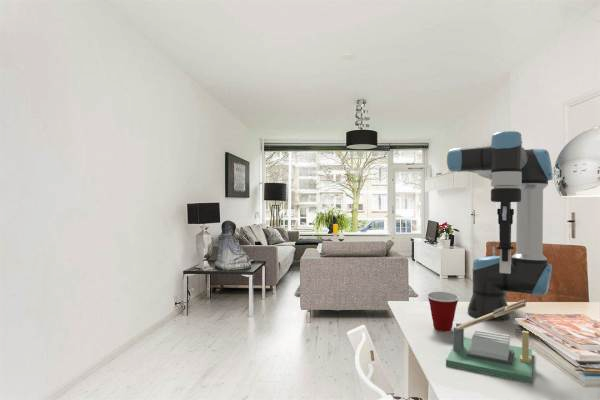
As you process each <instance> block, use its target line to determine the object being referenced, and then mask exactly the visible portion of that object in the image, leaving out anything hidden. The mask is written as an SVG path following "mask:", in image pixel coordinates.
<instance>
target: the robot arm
mask: <svg viewBox="0 0 600 400" xmlns="http://www.w3.org/2000/svg"><path fill="white" fill-rule="evenodd" d="M522 140H523V139H522V133H520V132H519V131H513V130H509V131H508V130H507V131H506V130H505V131H499V132H496V133H493V134H492V136H491V142H490V143H491V144H490V145H486V146H475V147H473V146H472V147H457V148H451V149H449V151H448V152H447V155H446V165H447V168H448V171H449V172H454V173H455V172H458V173H460V172H468V173H474V174H477V175H478V176H480V177H481V178H484V179H488V180H490V186H491V187H492V188H491V189H490V201H491V202H493V203H500V205H499V207H500V208H497V210H496V211H497V212H496V214H497V223H498V225H499V227H498V229H499V230H498V231H499V232H498V233H499V244H498V246H496V249H497V250H499V255H496V256H493V255H490V256H481V257H476V258H474V260H473V261H472V269H471V270H472V294H471V298H470V300H469V303H468V306H467V314H468V315H469V316H471V317H473V318H475V319H477V318H480V317H482V316H485V315H487V314H490V313H493V312H494V310H496V309H499V308H501V307H504V306H505V307H506V306H509V305H508V302H507V298H506V299H505V291H506V292H510V293H517V294H518V293H519V294H525V295H526V294H527V295H531V296H533V295H537V296H545V295H546V294H547V293H548V291H549V289H550V283H551V276H552V269H553V265H552V264H550V263H548V258H547V257H546V256H545V255H544V254H543V253H544V252H543V245H544V243H543V239H544V238H543V236H544V234H543V233H544V231H543V230H544V229H543V227H544V225H543V223H544V219H543V218H544V189H545V188H547V186H549V181H551V180H553V179H554V177H553V175H554V174H553V166H552V161H551V156H550V153H549V151H548V150H547V149H544V148H543V149H542V148H533V149H532V148H530V149H529V148H528V149H526V148H524V147H523V141H522ZM511 203H516V223H515V224H516V227H515V228H516V231H515V233H516V238H515V239H516V240H515V241H516V242H515V247H514V246H512V240H511V239H512V225H513V224H514V223H513V222H514V215H515V209H514V208H512V204H511ZM514 248H516V249H515V253H514V254H512V250H514ZM510 319H511V312H509V313H506V314H504V315H501V316H498V317H496V318H495V317H494V318H491V319H488V320H487V321H495V322H496V321H498V322H503V321H508V320H510Z"/></svg>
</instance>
